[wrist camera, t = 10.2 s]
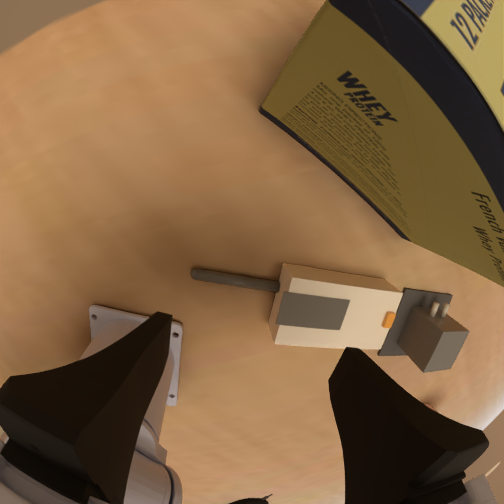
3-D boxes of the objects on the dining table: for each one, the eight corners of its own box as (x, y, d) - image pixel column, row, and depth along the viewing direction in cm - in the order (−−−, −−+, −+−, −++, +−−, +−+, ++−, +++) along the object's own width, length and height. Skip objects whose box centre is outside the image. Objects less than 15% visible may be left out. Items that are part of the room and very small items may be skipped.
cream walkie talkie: (365, 331, 23) (382, 352, 20) (186, 310, 21) (180, 334, 17) (384, 279, 22) (405, 295, 18) (194, 247, 19) (188, 262, 16)
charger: (423, 343, 24) (450, 369, 19) (396, 343, 23) (422, 373, 18) (443, 296, 22) (474, 318, 18) (416, 293, 22) (449, 318, 17)
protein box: (404, 241, 21) (558, 324, 6) (254, 112, 17) (334, -45, 2) (457, 152, 19) (600, 166, 4) (332, 25, 16) (444, -89, 1)
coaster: (425, 352, 25) (427, 354, 24) (377, 354, 24) (378, 355, 23) (450, 294, 23) (452, 295, 23) (404, 287, 22) (405, 289, 22)
